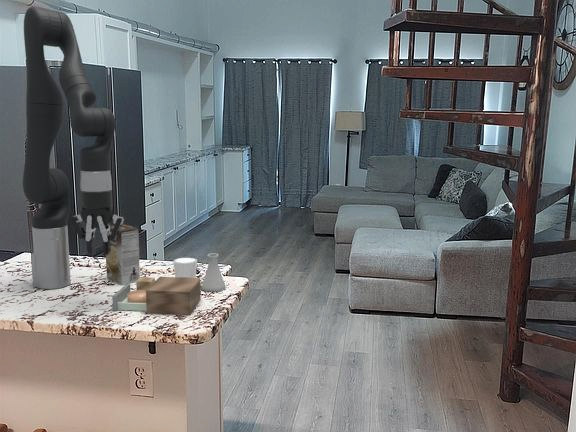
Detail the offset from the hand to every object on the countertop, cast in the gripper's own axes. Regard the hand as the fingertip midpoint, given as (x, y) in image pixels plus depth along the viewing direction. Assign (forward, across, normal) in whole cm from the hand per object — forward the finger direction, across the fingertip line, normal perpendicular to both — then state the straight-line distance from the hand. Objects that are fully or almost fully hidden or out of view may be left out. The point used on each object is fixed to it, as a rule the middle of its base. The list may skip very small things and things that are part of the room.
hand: (99, 254), depth 148 cm
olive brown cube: (+13, -8, -11) cm, 19 cm away
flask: (+13, -26, -16) cm, 34 cm away
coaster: (+12, -10, 0) cm, 16 cm away
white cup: (+13, -17, -20) cm, 30 cm away
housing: (+13, -19, 0) cm, 23 cm away
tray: (+13, -11, 0) cm, 17 cm away
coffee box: (+13, +2, -21) cm, 25 cm away
